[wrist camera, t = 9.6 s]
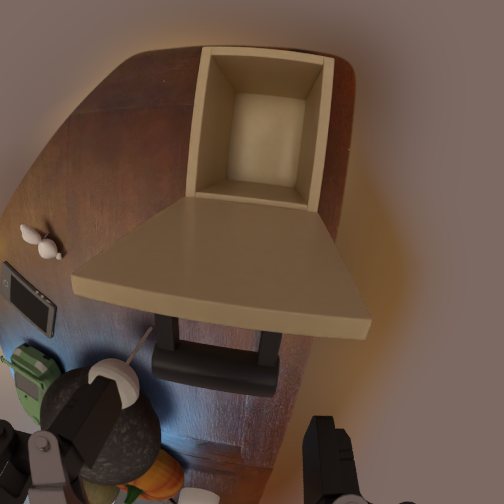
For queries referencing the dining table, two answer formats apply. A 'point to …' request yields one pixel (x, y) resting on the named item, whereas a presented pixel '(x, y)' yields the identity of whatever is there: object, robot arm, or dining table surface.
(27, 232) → the rabbit figurine
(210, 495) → the teardrop
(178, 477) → the pumpkin
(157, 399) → the dining table surface
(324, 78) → the chest
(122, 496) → the toy vehicle
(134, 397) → the lollipop
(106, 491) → the fruit
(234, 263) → the lid
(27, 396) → the toy car
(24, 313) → the smartphone
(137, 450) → the decorative sphere
